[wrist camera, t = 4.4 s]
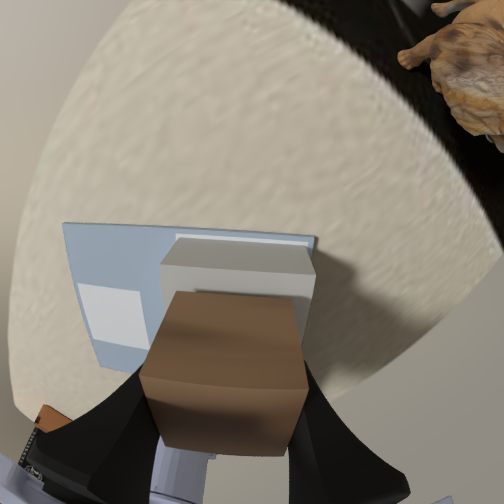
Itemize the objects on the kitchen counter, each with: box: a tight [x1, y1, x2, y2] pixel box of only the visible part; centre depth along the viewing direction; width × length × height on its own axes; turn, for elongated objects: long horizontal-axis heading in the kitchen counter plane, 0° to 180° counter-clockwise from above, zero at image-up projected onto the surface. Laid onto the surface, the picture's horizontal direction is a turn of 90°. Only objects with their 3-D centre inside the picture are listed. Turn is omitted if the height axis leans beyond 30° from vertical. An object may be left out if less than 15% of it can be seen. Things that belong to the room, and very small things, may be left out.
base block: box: [159, 237, 316, 346], centre depth 15 cm, size 7×7×4 cm
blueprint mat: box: [62, 222, 315, 374], centre depth 18 cm, size 13×16×1 cm
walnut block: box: [139, 291, 309, 456], centre depth 10 cm, size 5×5×5 cm
